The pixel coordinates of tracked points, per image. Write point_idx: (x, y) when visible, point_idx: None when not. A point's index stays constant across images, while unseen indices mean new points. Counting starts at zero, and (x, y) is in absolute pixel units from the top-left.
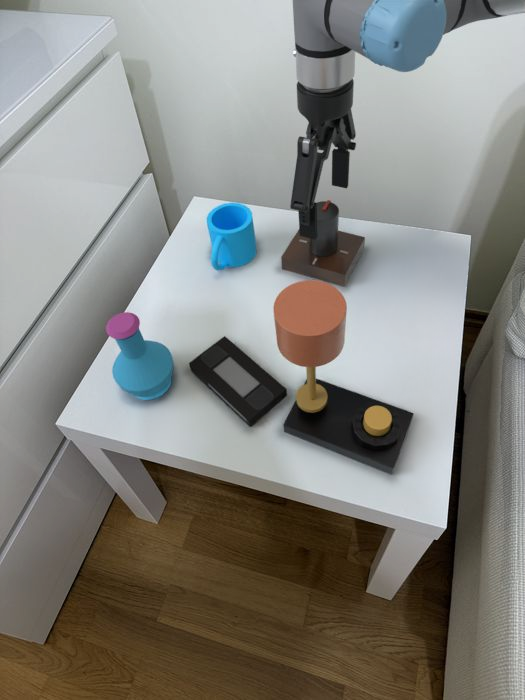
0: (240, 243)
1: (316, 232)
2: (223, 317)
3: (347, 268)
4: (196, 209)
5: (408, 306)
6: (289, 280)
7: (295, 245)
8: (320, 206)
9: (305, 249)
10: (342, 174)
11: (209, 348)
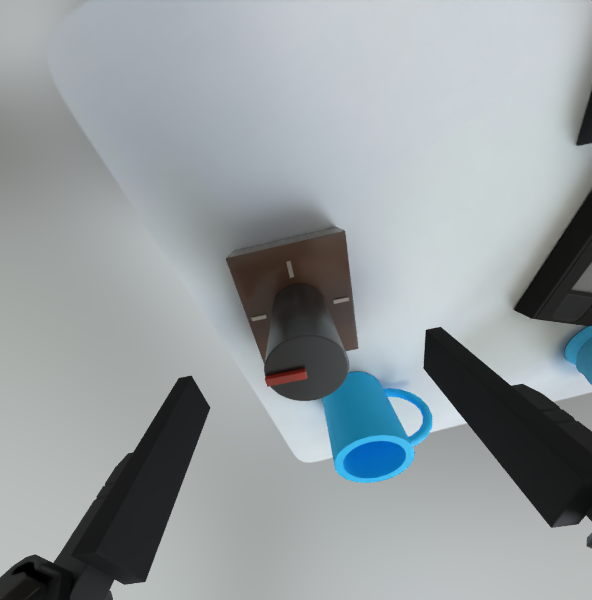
0: (386, 410)
1: (446, 341)
2: (467, 339)
3: (325, 237)
4: (311, 459)
5: (317, 61)
6: (366, 311)
7: None
8: (297, 385)
9: None
10: (176, 430)
11: (559, 320)
